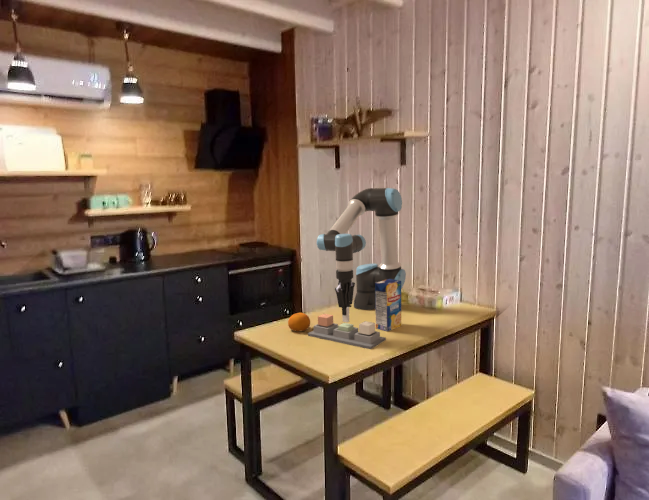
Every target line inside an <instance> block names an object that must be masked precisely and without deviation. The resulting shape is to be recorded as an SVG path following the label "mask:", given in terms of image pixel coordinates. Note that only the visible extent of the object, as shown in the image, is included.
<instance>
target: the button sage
mask: <svg viewBox="0 0 649 500" xmlns="http://www.w3.org/2000/svg"><path fill="white" fill-rule="evenodd" d="M354 327H355V325H354V324H353V323H352V324H351V323H349V322H343V323H341V324H338V330H340V331H345V332H349V331H351V330H353V329H354Z"/></svg>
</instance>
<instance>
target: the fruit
mask: <svg viewBox="0 0 649 500" xmlns="http://www.w3.org/2000/svg"><path fill="white" fill-rule="evenodd" d="M287 324H288V325H287V326H288V328H289V329H290V330H291V331H294V332H303V331H306V330H308V329H309V328H310V326H311V319H310V317H309V315H307V314H306V313H303V312H297V313H293V314H292V315H291V316H290V317H289V318H288V320H287Z"/></svg>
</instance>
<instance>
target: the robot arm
mask: <svg viewBox="0 0 649 500" xmlns="http://www.w3.org/2000/svg"><path fill="white" fill-rule="evenodd" d="M402 207H403V198H402V195H401V193H400V191H399V190H398V189H397V188H392V187H379V188H378V187H376V188H373V187H372V188H365V189H363V190H361V191H359V192H358V193H356V194H355V195H354V196H352V197H351V199H350V200H349V201H348V202H347V207H346V208H345V210H344V211H343V212H342V213H341V215H340V216H339V218H338V219H337V220H336V221H335V223H334V224H333V225H332V227H330V228H329V231H328V232H326V234H325V233H321V234H319V235H318V236H317V239H316V246H317V248H318V250H320V251H326V252H328V251H329V252H334V253H335V269H336V270H335V278H336V279H337V280H338V282H337V286H336V287H334V291H335V293H336V299H337V305H338V308H341V314H342V318H341V319H342V322H343V323H349V322H350V308H352V306H353V307H354V308H355V309H358V310H363V311H365V310H366V311H371V310H375V283H377V282H380V281H384V280H387V279H393V280H399V281H401V290H402V288H403V287H404V285H405V282H406V279H407V278H406V275H407V272H406V270H405V269H404V268H402V264H401V263H400V262H399V257H398V240H397V239H398V238H397V223H396V222H397V221H396V220H397V219H396V218H397V216H398V215H399V212H400V211H401V210H402ZM366 212H374V214H375V217H376V218H377V219H378V228H379V229H378V231H379V245H380V246H379V247H380V259H381V262H380V264H379V265H378V263H364V264H360V265H358V266H357V267H356V268H355V269H356V272H355V275H356V276H355V278H356V280H355V282H353V280H352V279H354V270H353V269H354V258H353V257H354V254H356V253H360V252H361V251H362V250H364V249H365V247H366V245H367V241H366V238H365V237H364V236H363V235H361V234H354V235H352V234H351V233H348V232H349V231H350V230H351V228H352V227H353V225H354V224H355V223H356V221H357V220H359V217H360V216H363V215H364V214H365V213H366ZM355 285H356V294H355V297H354V291H355V290H354V289H355ZM353 299H354V301H353ZM352 304H353V305H352Z"/></svg>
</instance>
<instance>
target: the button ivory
mask: <svg viewBox="0 0 649 500" xmlns="http://www.w3.org/2000/svg"><path fill="white" fill-rule="evenodd" d="M375 331H376V322H372V321H366V320H365V321H363V322H361V323H359V324H358V332H359V333H361V334H366V335H370V334H372V333H374V332H375Z"/></svg>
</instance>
